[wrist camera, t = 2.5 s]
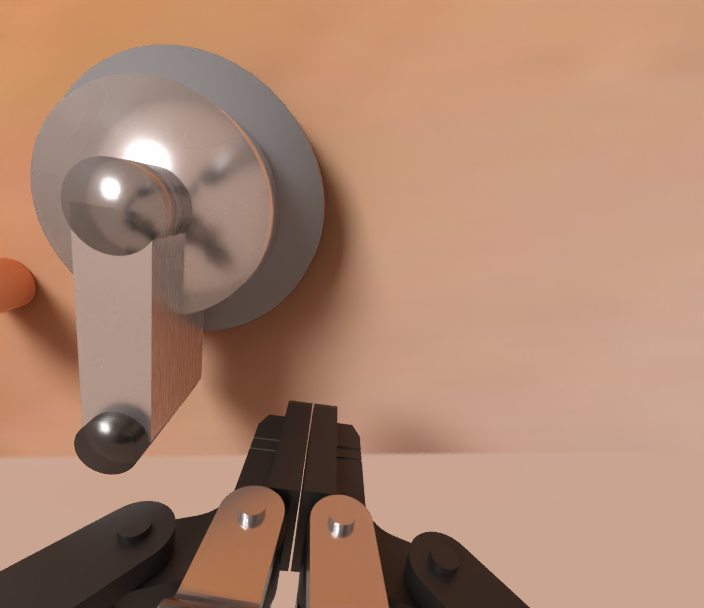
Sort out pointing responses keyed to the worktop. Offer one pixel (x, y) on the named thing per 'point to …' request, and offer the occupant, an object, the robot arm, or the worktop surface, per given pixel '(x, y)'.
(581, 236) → the worktop surface
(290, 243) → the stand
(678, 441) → the worktop surface
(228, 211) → the dial
